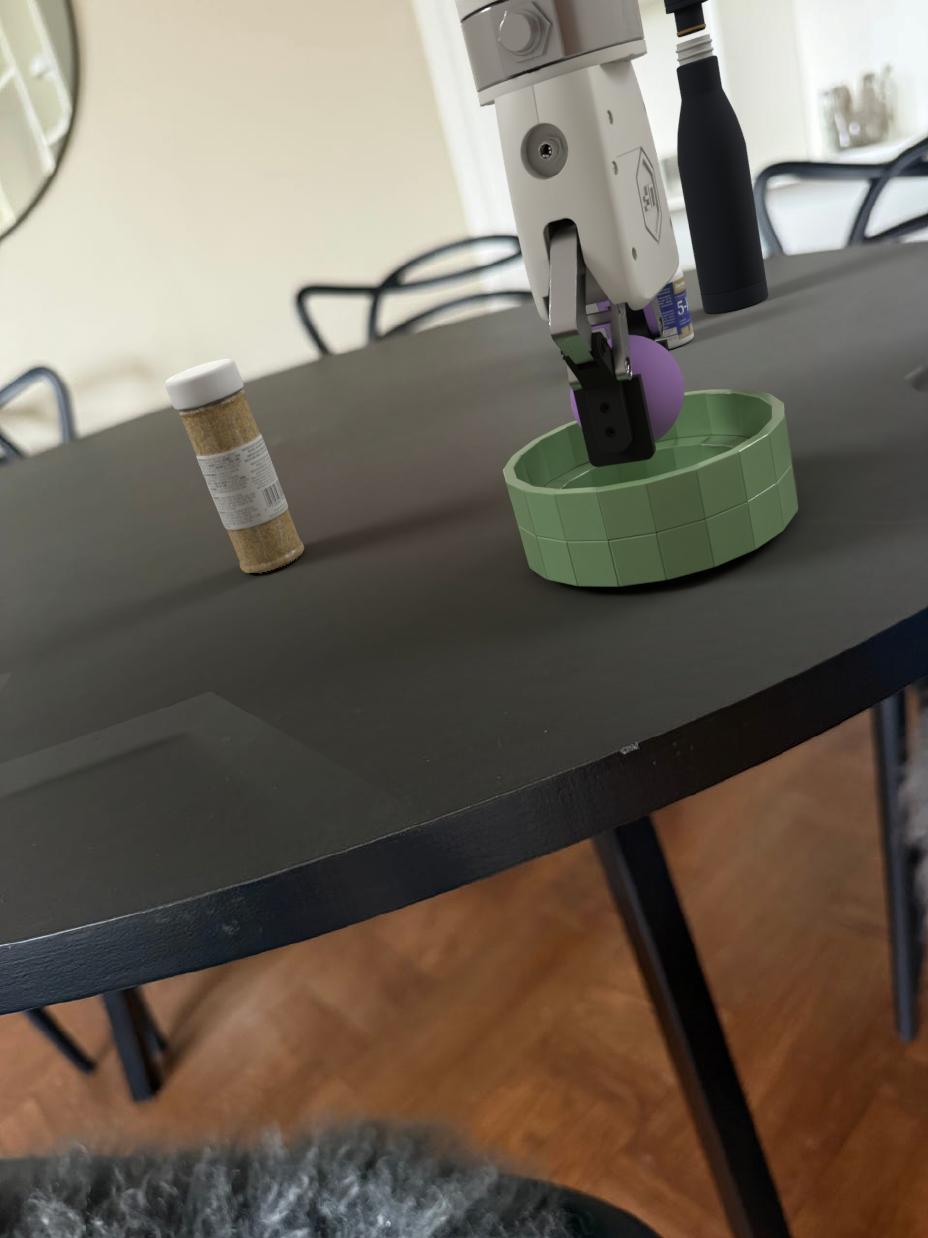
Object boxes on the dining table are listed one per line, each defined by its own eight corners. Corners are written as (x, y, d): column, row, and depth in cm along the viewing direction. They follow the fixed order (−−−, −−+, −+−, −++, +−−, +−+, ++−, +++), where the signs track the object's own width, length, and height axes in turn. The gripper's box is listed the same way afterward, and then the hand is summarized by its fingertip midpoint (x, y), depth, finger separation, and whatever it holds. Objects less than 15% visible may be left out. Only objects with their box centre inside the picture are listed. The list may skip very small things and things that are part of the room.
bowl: (649, 475, 61) (631, 389, 59) (857, 492, 50) (844, 387, 48) (478, 574, 55) (450, 481, 53) (674, 619, 44) (649, 504, 41)
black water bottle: (745, 310, 96) (688, -43, 84) (691, 316, 101) (630, -17, 89) (781, 291, 100) (732, -52, 87) (727, 297, 104) (673, -27, 92)
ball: (634, 425, 54) (613, 323, 52) (716, 427, 50) (696, 316, 47) (561, 464, 51) (535, 358, 49) (641, 470, 47) (616, 354, 45)
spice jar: (273, 547, 70) (200, 361, 64) (319, 546, 67) (248, 351, 62) (228, 577, 67) (147, 384, 61) (275, 577, 64) (195, 375, 59)
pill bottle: (696, 343, 90) (677, 242, 86) (638, 357, 91) (618, 259, 87) (693, 331, 94) (676, 235, 91) (638, 345, 96) (619, 251, 92)
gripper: (586, 13, 35) (680, 494, 42) (676, 17, 48) (735, 378, 56) (399, 80, 38) (517, 515, 45) (534, 66, 52) (607, 401, 59)
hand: (637, 436), depth 50 cm, fingers closed on ball, 5 cm apart
